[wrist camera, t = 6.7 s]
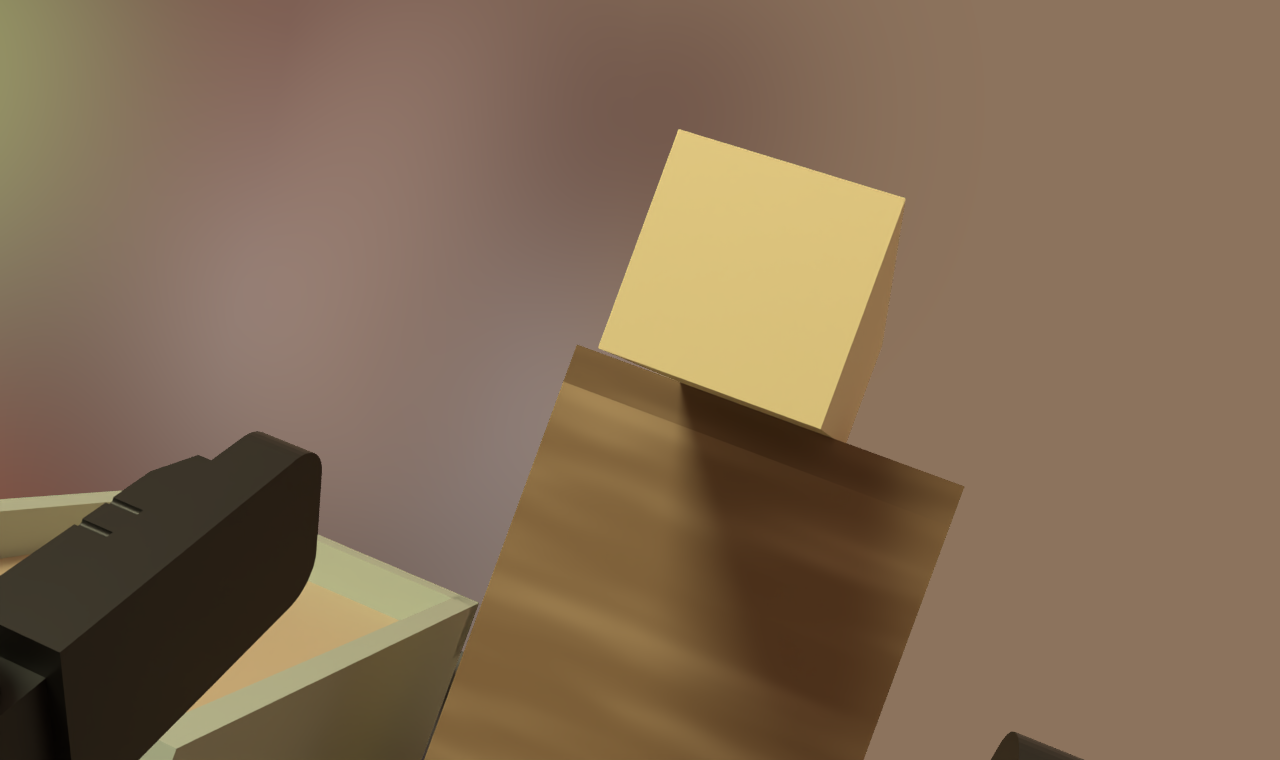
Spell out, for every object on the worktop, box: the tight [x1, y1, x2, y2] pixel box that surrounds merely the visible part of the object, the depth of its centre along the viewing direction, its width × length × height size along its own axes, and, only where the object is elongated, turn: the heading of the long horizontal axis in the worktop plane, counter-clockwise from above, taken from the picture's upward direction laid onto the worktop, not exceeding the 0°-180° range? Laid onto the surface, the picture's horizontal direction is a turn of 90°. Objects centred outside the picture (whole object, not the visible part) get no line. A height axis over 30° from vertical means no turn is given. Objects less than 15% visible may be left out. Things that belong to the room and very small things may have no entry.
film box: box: [598, 129, 905, 443], centre depth 28 cm, size 22×4×4 cm, turn 168°
